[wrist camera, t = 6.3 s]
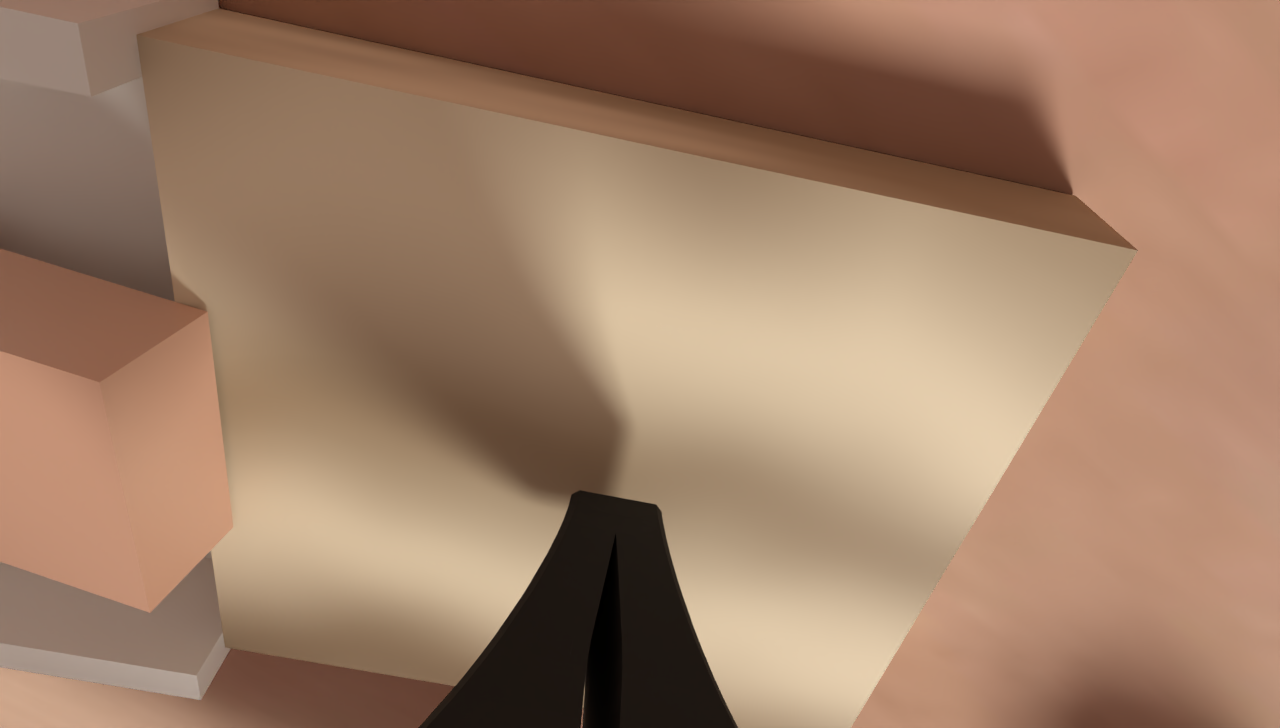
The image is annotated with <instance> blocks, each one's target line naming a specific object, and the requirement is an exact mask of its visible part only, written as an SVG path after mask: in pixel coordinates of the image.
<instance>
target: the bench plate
mask: <svg viewBox="0 0 1280 728" xmlns="http://www.w3.org/2000/svg"><path fill="white" fill-rule="evenodd" d="M136 37H137V44H138V51H139V58H140V64H141V71H142V78H143V85H144V92H145V99H146V106H147V113H148V120H149V127H150V134H151V140H152V147H153V154H154V161H155V168H156V175H157V182H158V189H159V196H160V203H161V209H162V216H163V223H164V230H165V237H166V244H167V251H168V258H169V265H170V272H171V279H172V285H173V292H174V299H175V302H178V303H181V304H184V305H187V306H191V307H194V308H197V309H201V310H204V311H207V312H208V319H209V327H210V335H211V344H212V352H213V361H214V369H215V377H216V386H217V394H218V402H219V411H220V419H221V428H222V436H223V444H224V453H225V461H226V469H227V478H228V486H229V494H230V503H231V511H232V520H233V528H232V529H231V530H230V531H229V532H228V533H227V534H226V535H225V536H224V537H223V538H222V539H221V540H220V541H219V542H218V543H217V544H216V545H215V547H214V548H213V549H212V550H211V555H212V562H213V569H214V575H215V582H216V589H217V596H218V603H219V610H220V617H221V624H222V631H223V638H224V644H225V648H231V649H237V650H243V651H248V652H254V653H260V654H266V655H272V656H278V657H284V658H290V659H296V660H302V661H308V662H314V663H320V664H326V665H332V666H338V667H343V668H349V669H355V670H361V671H367V672H373V673H379V674H385V675H391V676H397V677H403V678H409V679H415V680H421V681H427V682H433V683H439V684H444V685H450V686H456V685H457V683H458V682H459V681H460V680H461V679H462V677H463V676H464V675H465V674H466V672H467V671H468V670H469V669H470V667H471V666H472V665H473V664H474V662H475V661H476V660H477V659H478V657H479V656H480V655H481V653H482V652H483V651H484V649H485V648H486V647H487V645H488V644H489V643H490V641H491V640H492V639H493V637H494V636H495V635H496V633H497V632H498V630H499V629H500V627H501V626H502V624H503V623H504V622H505V620H506V619H507V617H508V616H509V614H510V613H511V611H512V610H513V608H514V607H515V605H516V604H517V603H518V601H519V600H520V598H521V597H522V595H523V594H524V592H525V590H526V589H527V587H528V586H529V584H530V582H531V580H532V579H533V577H534V575H535V574H536V572H537V570H538V568H539V567H540V565H541V563H542V562H543V560H544V558H545V556H546V555H547V553H548V551H549V549H550V547H551V545H552V543H553V541H554V539H555V537H556V535H557V533H558V531H559V529H560V527H561V524H562V522H563V520H564V517H565V514H566V512H567V509H568V506H569V502H570V498H571V494H573V493H575V492H577V491H579V490H581V491H587V492H592V493H598V494H603V495H608V496H614V497H619V498H624V499H630V500H635V501H641V502H646V503H651V504H656V505H657V506H658V507H659V509H660V510H661V511H662V518H663V524H664V529H665V534H666V539H667V543H668V547H669V551H670V555H671V558H672V562H673V565H674V569H675V573H676V576H677V579H678V582H679V586H680V589H681V592H682V595H683V598H684V601H685V604H686V606H687V609H688V612H689V615H690V618H691V621H692V624H693V626H694V629H695V632H696V634H697V637H698V639H699V642H700V645H701V647H702V650H703V652H704V654H705V657H706V659H707V662H708V664H709V666H710V669H711V671H712V674H713V676H714V678H715V680H716V683H717V685H718V687H719V689H720V691H721V694H722V696H723V698H724V700H725V702H726V704H727V706H728V708H729V711H730V712H731V714H732V716H733V718H734V720H735V722H736V724H737V726H738V728H851V726H852V725H853V723H854V721H855V720H856V718H857V716H858V715H859V713H860V711H861V710H862V708H863V706H864V705H865V703H866V701H867V700H868V698H869V696H870V695H871V693H872V691H873V690H874V688H875V686H876V685H877V683H878V681H879V680H880V678H881V677H882V675H883V673H884V672H885V670H886V668H887V667H888V665H889V663H890V662H891V660H892V658H893V657H894V655H895V653H896V652H897V650H898V648H899V647H900V645H901V643H902V642H903V640H904V638H905V637H906V635H907V633H908V632H909V630H910V628H911V627H912V625H913V623H914V622H915V620H916V618H917V617H918V615H919V613H920V612H921V610H922V608H923V607H924V605H925V603H926V602H927V600H928V598H929V597H930V595H931V593H932V592H933V590H934V588H935V587H936V585H937V583H938V582H939V580H940V578H941V577H942V575H943V573H944V572H945V570H946V568H947V567H948V565H949V564H950V562H951V560H952V559H953V557H954V555H955V554H956V552H957V550H958V549H959V547H960V545H961V544H962V542H963V540H964V539H965V537H966V535H967V534H968V532H969V530H970V529H971V527H972V525H973V524H974V522H975V520H976V519H977V517H978V515H979V514H980V512H981V510H982V509H983V507H984V505H985V504H986V502H987V500H988V499H989V497H990V495H991V494H992V492H993V490H994V489H995V487H996V485H997V484H998V482H999V480H1000V479H1001V477H1002V475H1003V474H1004V472H1005V470H1006V469H1007V467H1008V465H1009V464H1010V462H1011V460H1012V459H1013V457H1014V455H1015V454H1016V452H1017V450H1018V449H1019V447H1020V446H1021V444H1022V442H1023V441H1024V439H1025V437H1026V436H1027V434H1028V432H1029V431H1030V429H1031V427H1032V426H1033V424H1034V422H1035V421H1036V419H1037V417H1038V416H1039V414H1040V412H1041V411H1042V409H1043V407H1044V406H1045V404H1046V402H1047V401H1048V399H1049V397H1050V396H1051V394H1052V392H1053V391H1054V389H1055V387H1056V386H1057V384H1058V382H1059V381H1060V379H1061V377H1062V376H1063V374H1064V372H1065V371H1066V369H1067V367H1068V366H1069V364H1070V362H1071V361H1072V359H1073V357H1074V356H1075V354H1076V352H1077V351H1078V349H1079V347H1080V346H1081V344H1082V342H1083V341H1084V339H1085V337H1086V336H1087V334H1088V333H1089V331H1090V329H1091V328H1092V326H1093V324H1094V323H1095V321H1096V319H1097V318H1098V316H1099V314H1100V313H1101V311H1102V309H1103V308H1104V306H1105V304H1106V303H1107V301H1108V299H1109V298H1110V296H1111V294H1112V293H1113V291H1114V289H1115V288H1116V286H1117V284H1118V283H1119V281H1120V279H1121V278H1122V276H1123V274H1124V273H1125V271H1126V269H1127V268H1128V266H1129V264H1130V263H1131V261H1132V259H1133V258H1134V256H1135V254H1136V253H1137V251H1138V250H1137V249H1136V248H1134V247H1133V246H1132V245H1131V244H1130V243H1129V242H1128V241H1126V240H1125V239H1124V238H1123V237H1122V236H1121V235H1120V234H1118V233H1117V232H1116V231H1115V230H1114V229H1113V228H1112V227H1110V226H1109V225H1108V224H1107V223H1106V222H1105V221H1104V220H1103V219H1101V218H1100V217H1099V216H1098V215H1097V214H1096V213H1095V212H1093V211H1092V210H1091V209H1090V208H1089V207H1088V206H1087V205H1085V204H1084V203H1083V202H1082V201H1081V200H1080V199H1079V198H1077V197H1076V196H1074V195H1070V194H1065V193H1060V192H1056V191H1051V190H1047V189H1042V188H1038V187H1033V186H1028V185H1024V184H1019V183H1015V182H1010V181H1006V180H1001V179H996V178H992V177H987V176H983V175H978V174H974V173H969V172H964V171H960V170H955V169H951V168H946V167H942V166H937V165H932V164H928V163H923V162H919V161H914V160H910V159H905V158H900V157H896V156H891V155H887V154H882V153H878V152H873V151H869V150H864V149H859V148H855V147H850V146H846V145H841V144H837V143H832V142H827V141H823V140H818V139H814V138H809V137H805V136H800V135H795V134H791V133H786V132H782V131H777V130H773V129H768V128H763V127H759V126H754V125H750V124H745V123H741V122H736V121H731V120H727V119H722V118H718V117H713V116H709V115H704V114H699V113H695V112H690V111H686V110H681V109H677V108H672V107H667V106H663V105H658V104H654V103H649V102H645V101H640V100H635V99H631V98H626V97H622V96H617V95H613V94H608V93H603V92H599V91H594V90H590V89H585V88H581V87H576V86H571V85H567V84H562V83H558V82H553V81H549V80H544V79H539V78H535V77H530V76H526V75H521V74H517V73H512V72H507V71H503V70H498V69H494V68H489V67H485V66H480V65H475V64H471V63H466V62H462V61H457V60H453V59H448V58H443V57H439V56H434V55H430V54H425V53H421V52H416V51H411V50H407V49H402V48H398V47H393V46H389V45H384V44H379V43H375V42H370V41H366V40H361V39H357V38H352V37H347V36H343V35H338V34H334V33H329V32H325V31H320V30H315V29H311V28H306V27H302V26H297V25H293V24H288V23H284V22H279V21H274V20H270V19H265V18H261V17H256V16H252V15H247V14H242V13H238V12H233V11H229V10H224V9H220V8H218V9H215V10H212V11H209V12H206V13H203V14H200V15H197V16H193V17H190V18H187V19H184V20H181V21H178V22H175V23H172V24H168V25H165V26H162V27H159V28H156V29H153V30H150V31H147V32H144V33H140V34H137V35H136ZM584 693H585V687H584ZM582 708H584V697H583V706H582Z"/></svg>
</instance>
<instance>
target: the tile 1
mask: <svg viewBox="0 0 1280 728" xmlns="http://www.w3.org/2000/svg"><path fill="white" fill-rule="evenodd" d="M232 528H233V520H232V511H231V503H230V494H229V486H228V478H227V469H226V461H225V453H224V444H223V436H222V428H221V419H220V411H219V402H218V394H217V386H216V377H215V369H214V361H213V352H212V344H211V335H210V327H209V319H208V312H207V311H204V310H201V309H197V308H194V307H191V306H187V305H184V304H181V303H178V302H174V301H171V300H168V299H164V298H161V297H158V296H155V295H151V294H148V293H145V292H141V291H138V290H135V289H132V288H128V287H125V286H122V285H118V284H115V283H112V282H109V281H105V280H102V279H99V278H96V277H92V276H89V275H86V274H82V273H79V272H76V271H73V270H69V269H66V268H63V267H59V266H56V265H53V264H50V263H46V262H43V261H40V260H36V259H33V258H30V257H27V256H23V255H20V254H17V253H14V252H10V251H7V250H4V249H0V562H2V563H5V564H8V565H11V566H14V567H17V568H20V569H23V570H26V571H29V572H32V573H35V574H38V575H41V576H43V577H46V578H49V579H52V580H55V581H58V582H61V583H64V584H67V585H70V586H73V587H76V588H79V589H82V590H84V591H87V592H90V593H93V594H96V595H99V596H102V597H105V598H108V599H111V600H114V601H117V602H120V603H123V604H125V605H128V606H131V607H134V608H137V609H140V610H143V611H146V612H149V613H151V612H152V611H153V610H154V608H155V607H156V606H157V605H158V604H159V603H160V602H161V601H162V600H163V599H164V598H165V597H166V596H167V595H168V594H169V593H170V592H171V591H172V590H173V589H174V588H175V587H176V586H177V585H178V584H179V583H180V582H181V581H182V580H183V579H184V578H185V576H186V575H187V574H188V573H189V572H190V571H191V570H192V569H193V568H194V567H195V566H196V565H197V564H198V563H199V562H200V561H201V560H202V559H203V558H204V557H205V556H206V555H207V554H208V553H209V552H210V551H211V550H212V549H213V548H214V547H215V545H216V544H217V543H218V542H219V541H220V540H221V539H222V538H223V537H224V536H225V535H226V534H227V533H228V532H229V531H230V530H231V529H232Z"/></svg>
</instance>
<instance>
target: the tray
mask: <svg viewBox="0 0 1280 728" xmlns="http://www.w3.org/2000/svg"><path fill="white" fill-rule="evenodd" d="M218 8H219V5H218V0H0V249H4V250H7V251H10V252H14V253H17V254H20V255H23V256H27V257H30V258H33V259H36V260H40V261H43V262H46V263H50V264H53V265H56V266H59V267H63V268H66V269H69V270H73V271H76V272H79V273H82V274H86V275H89V276H92V277H96V278H99V279H102V280H105V281H109V282H112V283H115V284H118V285H122V286H125V287H128V288H132V289H135V290H138V291H141V292H145V293H148V294H151V295H155V296H158V297H161V298H164V299H168V300H171V301H174V302H175V299H174V292H173V285H172V279H171V272H170V265H169V258H168V251H167V244H166V237H165V230H164V223H163V216H162V209H161V203H160V196H159V189H158V182H157V175H156V168H155V161H154V154H153V147H152V140H151V134H150V127H149V120H148V113H147V106H146V99H145V92H144V85H143V78H142V71H141V64H140V58H139V51H138V44H137V37H136V35H137V34H140V33H144V32H147V31H150V30H153V29H156V28H159V27H162V26H165V25H168V24H172V23H175V22H178V21H181V20H184V19H187V18H190V17H193V16H197V15H200V14H203V13H206V12H209V11H212V10H215V9H218ZM230 649H231V648H225V644H224V638H223V631H222V624H221V617H220V610H219V603H218V596H217V589H216V582H215V575H214V569H213V562H212V555H211V551H210V552H209V553H208V554H207V555H206V556H205V557H204V558H203V559H202V560H201V561H200V562H199V563H198V564H197V565H196V566H195V567H194V568H193V569H192V570H191V571H190V572H189V573H188V574H187V575H186V576H185V578H184V579H183V580H182V581H181V582H180V583H179V584H178V585H177V586H176V587H175V588H174V589H173V590H172V591H171V592H170V593H169V594H168V595H167V596H166V597H165V598H164V599H163V600H162V601H161V602H160V603H159V604H158V605H157V606H156V607H155V608H154V610H153V611H152V612H151V613H149V612H146V611H143V610H140V609H137V608H134V607H131V606H128V605H125V604H123V603H120V602H117V601H114V600H111V599H108V598H105V597H102V596H99V595H96V594H93V593H90V592H87V591H84V590H82V589H79V588H76V587H73V586H70V585H67V584H64V583H61V582H58V581H55V580H52V579H49V578H46V577H43V576H41V575H38V574H35V573H32V572H29V571H26V570H23V569H20V568H17V567H14V566H11V565H8V564H5V563H2V562H0V667H2V668H8V669H14V670H20V671H26V672H32V673H38V674H44V675H50V676H57V677H63V678H69V679H75V680H81V681H87V682H93V683H99V684H105V685H111V686H118V687H124V688H130V689H136V690H142V691H148V692H154V693H160V694H166V695H172V696H179V697H185V698H191V699H197V700H201V699H202V698H203V696H204V694H205V692H206V691H207V689H208V687H209V685H210V684H211V682H212V680H213V679H214V677H215V675H216V673H217V672H218V670H219V668H220V666H221V665H222V663H223V661H224V660H225V658H226V656H227V654H228V653H229V651H230Z"/></svg>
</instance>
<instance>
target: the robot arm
mask: <svg viewBox="0 0 1280 728" xmlns="http://www.w3.org/2000/svg"><path fill="white" fill-rule="evenodd" d="M584 687H585V693H584ZM583 697H584V713H583V728H738V726H737V724H736V722H735V720H734V718H733V716H732V714H731V712H730V711H729V708H728V706H727V704H726V702H725V700H724V698H723V696H722V694H721V691H720V689H719V687H718V685H717V683H716V680H715V678H714V676H713V674H712V671H711V669H710V666H709V664H708V662H707V659H706V657H705V654H704V652H703V650H702V647H701V645H700V642H699V639H698V637H697V634H696V632H695V629H694V626H693V624H692V621H691V618H690V615H689V612H688V609H687V606H686V604H685V601H684V598H683V595H682V592H681V589H680V586H679V582H678V579H677V576H676V573H675V569H674V565H673V562H672V558H671V555H670V551H669V547H668V543H667V539H666V534H665V529H664V524H663V518H662V511H661V510H660V509H659V507H658V506H657V505H656V504H651V503H646V502H641V501H635V500H630V499H624V498H619V497H614V496H608V495H603V494H598V493H592V492H587V491H581V490H579V491H577V492H575V493H573V494H571V498H570V502H569V506H568V509H567V512H566V514H565V517H564V520H563V522H562V524H561V527H560V529H559V531H558V533H557V535H556V537H555V539H554V541H553V543H552V545H551V547H550V549H549V551H548V553H547V555H546V556H545V558H544V560H543V562H542V563H541V565H540V567H539V568H538V570H537V572H536V574H535V575H534V577H533V579H532V580H531V582H530V584H529V586H528V587H527V589H526V590H525V592H524V594H523V595H522V597H521V598H520V600H519V601H518V603H517V604H516V605H515V607H514V608H513V610H512V611H511V613H510V614H509V616H508V617H507V619H506V620H505V622H504V623H503V624H502V626H501V627H500V629H499V630H498V632H497V633H496V635H495V636H494V637H493V639H492V640H491V641H490V643H489V644H488V645H487V647H486V648H485V649H484V651H483V652H482V653H481V655H480V656H479V657H478V659H477V660H476V661H475V662H474V664H473V665H472V666H471V667H470V669H469V670H468V671H467V672H466V674H465V675H464V676H463V677H462V679H461V680H460V681H459V682H458V683H457V685H456V686H455V687H454V688H453V689H452V691H451V692H450V693H449V694H448V695H447V696H446V697H445V699H444V700H443V701H442V702H441V703H440V704H439V705H438V707H437V708H436V709H435V710H434V711H433V712H432V713H431V715H430V716H429V717H428V718H427V719H426V720H425V721H424V722H423V724H422V725H421V726H420V727H419V728H580V726H581V716H582V706H583Z"/></svg>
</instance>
